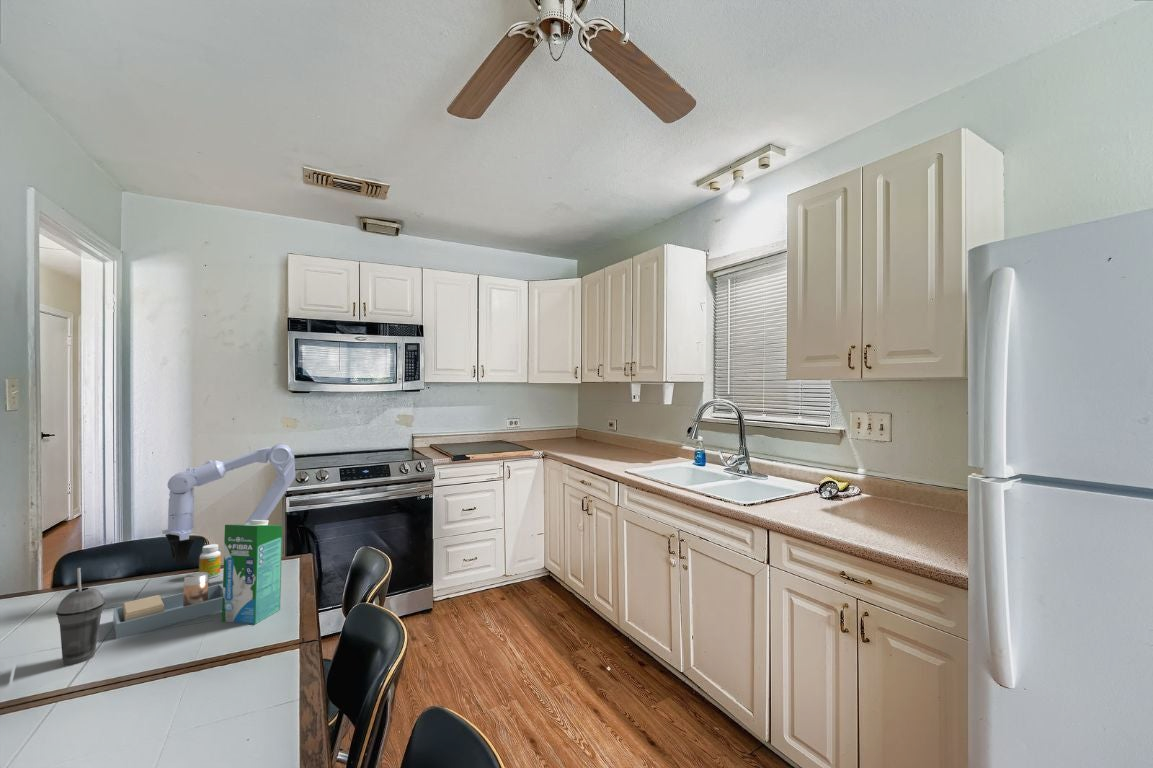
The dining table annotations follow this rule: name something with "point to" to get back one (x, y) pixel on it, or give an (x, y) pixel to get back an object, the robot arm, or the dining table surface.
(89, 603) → the beverage cup
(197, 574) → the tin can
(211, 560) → the supplement bottle
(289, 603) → the dining table surface
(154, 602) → the plain tan box
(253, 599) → the milk carton
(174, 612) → the tote
